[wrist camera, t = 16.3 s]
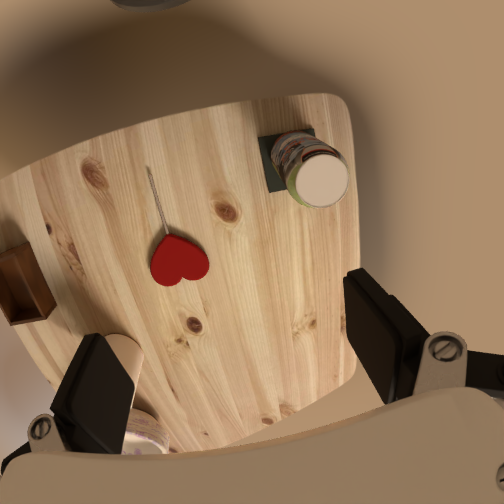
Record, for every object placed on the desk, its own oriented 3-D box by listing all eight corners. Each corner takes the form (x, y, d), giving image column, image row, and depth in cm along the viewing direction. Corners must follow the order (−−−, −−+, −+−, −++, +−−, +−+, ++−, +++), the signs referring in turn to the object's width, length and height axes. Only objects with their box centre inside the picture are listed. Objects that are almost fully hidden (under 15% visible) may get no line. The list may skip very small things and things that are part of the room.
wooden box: (-6, 256, 34) (-20, 266, 30) (29, 241, 34) (14, 252, 30) (21, 312, 38) (10, 325, 35) (57, 304, 39) (46, 319, 35)
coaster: (257, 137, 33) (258, 137, 33) (312, 128, 33) (313, 128, 33) (269, 192, 36) (269, 192, 36) (321, 181, 36) (322, 182, 36)
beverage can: (316, 130, 33) (360, 131, 22) (316, 188, 36) (357, 212, 25) (266, 130, 33) (289, 128, 22) (268, 189, 36) (290, 215, 24)
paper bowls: (116, 434, 53) (111, 461, 46) (91, 395, 47) (82, 425, 40) (177, 438, 54) (175, 467, 47) (160, 399, 48) (156, 432, 41)
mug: (138, 333, 42) (124, 381, 32) (148, 369, 45) (138, 416, 35) (73, 330, 41) (50, 372, 31) (86, 364, 44) (69, 406, 34)
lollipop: (121, 183, 33) (158, 287, 39) (119, 185, 32) (156, 290, 38) (181, 164, 33) (213, 274, 39) (180, 165, 33) (213, 277, 38)
